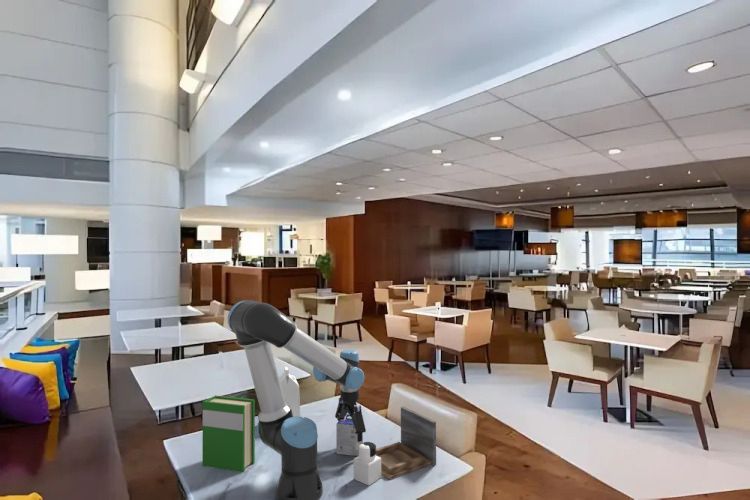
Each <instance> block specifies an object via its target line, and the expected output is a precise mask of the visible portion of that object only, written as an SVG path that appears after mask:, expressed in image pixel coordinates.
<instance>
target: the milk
mask: <svg viewBox="0 0 750 500" xmlns="http://www.w3.org/2000/svg"><path fill="white" fill-rule="evenodd" d="M278 377H279V381H280V385H281V389H282V392H283V396H284V400H285V403H288V404H290V406H291V410H292V414H293V417H301V403H300V401H301V400H300V385H299V381H298V380H297V378H296V376H295V375H293V374H290V369H289V368H288V366H284V372H283V373H282V374H281V375H280V376H278Z"/></svg>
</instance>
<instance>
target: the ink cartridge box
mask: <svg viewBox="0 0 750 500" xmlns="http://www.w3.org/2000/svg"><path fill="white" fill-rule="evenodd" d="M348 417H349V418H348ZM355 432H356V429H355V426H354V423H353V420H352V418H351V417H350V415H349V414H348V413H347V414H346V416H345V419H340V420H339V421H338V420H337V423H336V437H335V438H336V439H335V440H336V451H335V452H336V453H335V454H336V455H344V456H345V455H346V456H356V457H358V456H359V450H355ZM363 433H364V432H363ZM363 433H362V443H363V442H364V441H363V440H364V437H363V436H364V434H363Z"/></svg>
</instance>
